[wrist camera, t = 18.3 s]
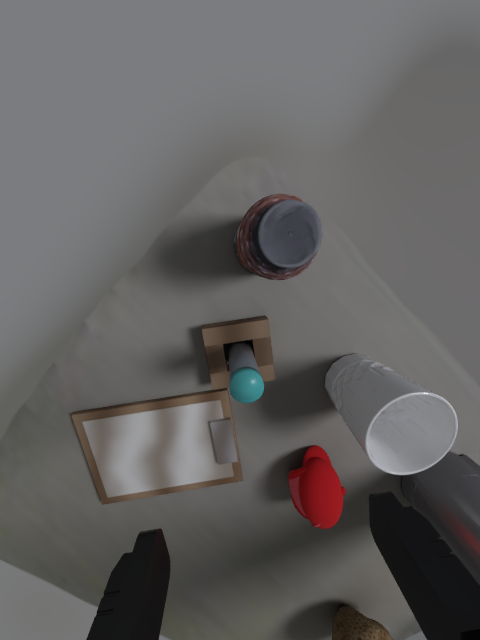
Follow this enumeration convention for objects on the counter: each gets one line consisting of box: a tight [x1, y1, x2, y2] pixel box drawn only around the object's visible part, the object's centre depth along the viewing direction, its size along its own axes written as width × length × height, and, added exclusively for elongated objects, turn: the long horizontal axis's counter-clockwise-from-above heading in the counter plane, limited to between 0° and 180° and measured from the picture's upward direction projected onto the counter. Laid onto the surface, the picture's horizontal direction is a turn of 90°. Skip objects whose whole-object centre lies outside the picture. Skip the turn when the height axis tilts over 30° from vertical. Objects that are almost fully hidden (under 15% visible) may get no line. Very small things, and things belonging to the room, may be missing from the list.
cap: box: [288, 445, 346, 529], centre depth 30 cm, size 8×6×6 cm
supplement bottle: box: [234, 194, 322, 280], centre depth 20 cm, size 6×6×11 cm
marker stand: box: [202, 316, 275, 390], centre depth 27 cm, size 7×7×2 cm
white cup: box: [325, 354, 458, 475], centre depth 25 cm, size 8×8×10 cm
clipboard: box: [71, 388, 243, 505], centre depth 30 cm, size 18×13×1 cm
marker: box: [229, 341, 264, 403], centre depth 24 cm, size 3×3×9 cm
